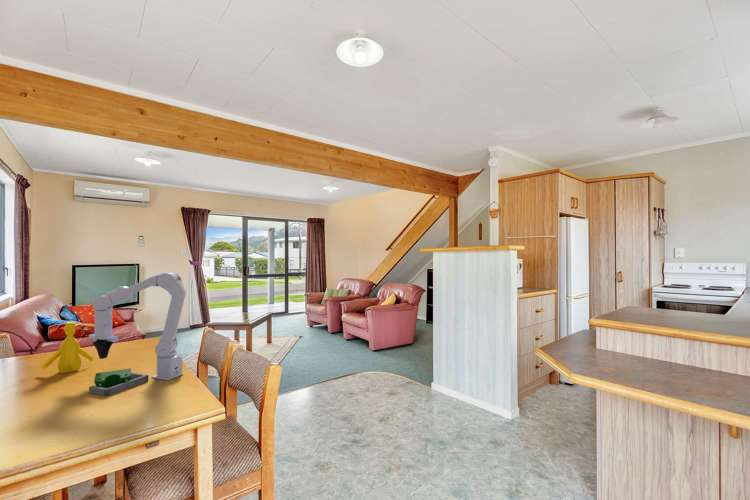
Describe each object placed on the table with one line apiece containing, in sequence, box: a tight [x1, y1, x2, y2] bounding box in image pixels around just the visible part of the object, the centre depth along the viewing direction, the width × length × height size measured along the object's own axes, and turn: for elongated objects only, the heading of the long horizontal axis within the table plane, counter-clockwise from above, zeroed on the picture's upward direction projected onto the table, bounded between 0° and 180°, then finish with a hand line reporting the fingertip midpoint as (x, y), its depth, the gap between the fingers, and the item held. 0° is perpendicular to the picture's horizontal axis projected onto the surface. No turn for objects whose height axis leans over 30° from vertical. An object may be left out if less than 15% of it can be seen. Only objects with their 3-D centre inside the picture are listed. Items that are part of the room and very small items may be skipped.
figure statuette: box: [41, 321, 95, 374], centre depth 154 cm, size 18×8×22 cm, turn 135°
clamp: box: [93, 367, 132, 388], centre depth 136 cm, size 12×6×9 cm, turn 117°
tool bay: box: [88, 371, 149, 398], centre depth 137 cm, size 9×16×2 cm, turn 161°
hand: (103, 358), depth 142 cm, fingers closed
